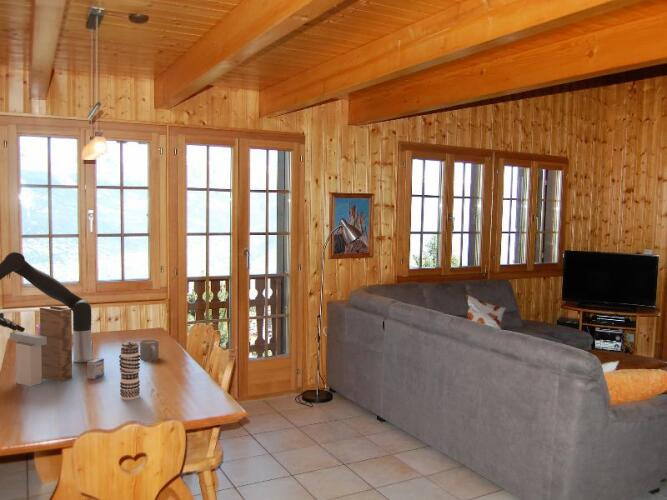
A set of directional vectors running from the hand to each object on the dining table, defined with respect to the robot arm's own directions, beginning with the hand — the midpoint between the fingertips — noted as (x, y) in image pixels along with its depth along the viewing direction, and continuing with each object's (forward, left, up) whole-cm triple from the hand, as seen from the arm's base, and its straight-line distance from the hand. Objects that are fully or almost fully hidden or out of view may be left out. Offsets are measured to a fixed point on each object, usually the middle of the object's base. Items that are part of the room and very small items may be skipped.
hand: (20, 329), depth 300 cm
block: (+5, +13, -24) cm, 28 cm away
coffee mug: (-57, +30, -24) cm, 69 cm away
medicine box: (-18, +31, -24) cm, 44 cm away
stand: (-7, +16, -24) cm, 30 cm away
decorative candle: (-4, +68, -24) cm, 73 cm away
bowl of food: (-55, -45, -24) cm, 75 cm away
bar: (+5, +13, -4) cm, 14 cm away
